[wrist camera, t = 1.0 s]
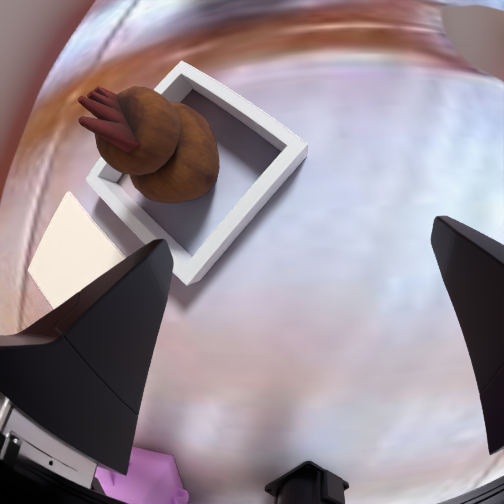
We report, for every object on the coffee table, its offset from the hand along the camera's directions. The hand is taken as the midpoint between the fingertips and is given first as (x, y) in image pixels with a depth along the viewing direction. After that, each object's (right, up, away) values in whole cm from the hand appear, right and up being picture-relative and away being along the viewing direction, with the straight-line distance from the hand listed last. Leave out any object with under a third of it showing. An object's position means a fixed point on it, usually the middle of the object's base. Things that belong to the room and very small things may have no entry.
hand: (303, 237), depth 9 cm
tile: (-20, -2, +17) cm, 26 cm away
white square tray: (-6, +6, +14) cm, 17 cm away
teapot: (-14, -27, +17) cm, 35 cm away
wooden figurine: (-6, +6, +15) cm, 17 cm away
